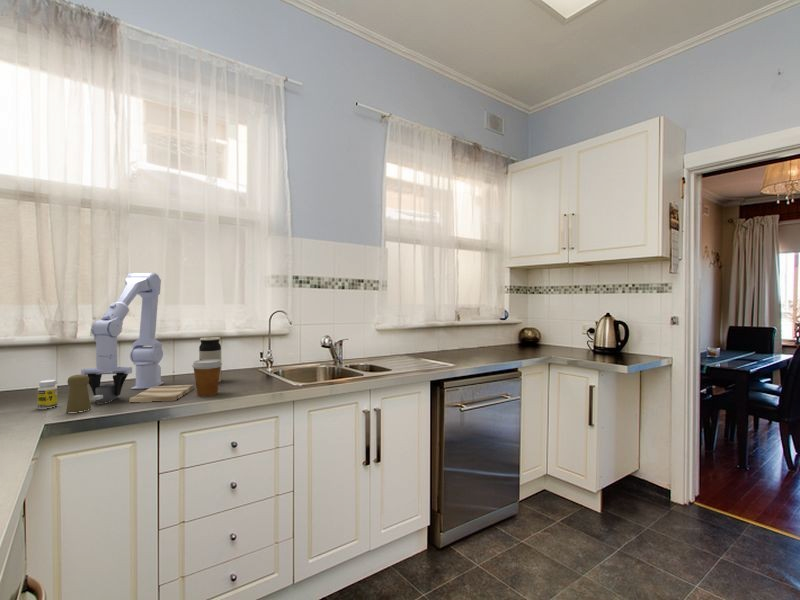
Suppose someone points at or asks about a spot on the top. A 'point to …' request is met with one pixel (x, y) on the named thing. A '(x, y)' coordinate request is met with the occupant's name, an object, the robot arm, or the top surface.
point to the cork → (78, 393)
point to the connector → (105, 393)
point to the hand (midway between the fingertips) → (107, 395)
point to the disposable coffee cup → (207, 376)
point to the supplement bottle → (47, 394)
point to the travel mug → (210, 350)
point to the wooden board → (162, 393)
